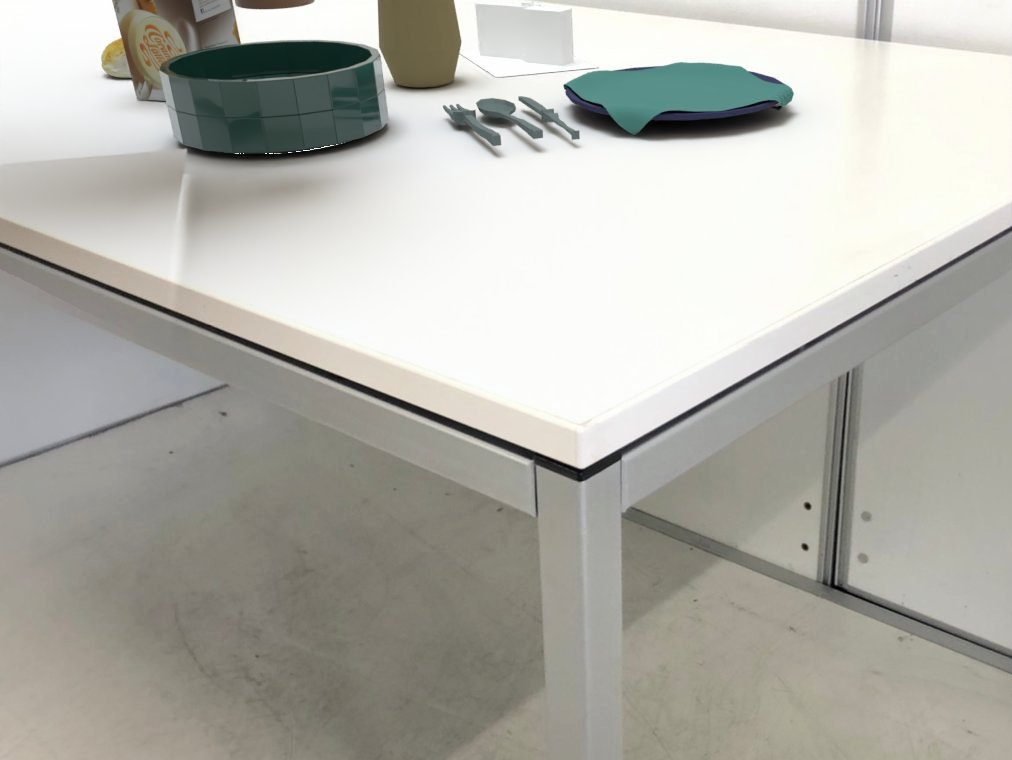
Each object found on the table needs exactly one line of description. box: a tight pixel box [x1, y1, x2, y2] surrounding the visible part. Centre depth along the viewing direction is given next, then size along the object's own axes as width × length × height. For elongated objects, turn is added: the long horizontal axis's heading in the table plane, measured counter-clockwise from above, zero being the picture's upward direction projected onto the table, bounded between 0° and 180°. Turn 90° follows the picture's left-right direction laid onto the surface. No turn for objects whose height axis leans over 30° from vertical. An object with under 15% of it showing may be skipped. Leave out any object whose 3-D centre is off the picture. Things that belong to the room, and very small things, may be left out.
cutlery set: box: [442, 61, 795, 147], centre depth 98 cm, size 20×30×2 cm, turn 113°
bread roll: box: [100, 37, 132, 79], centre depth 117 cm, size 8×9×4 cm
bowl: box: [159, 39, 390, 154], centre depth 93 cm, size 17×17×6 cm
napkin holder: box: [459, 0, 600, 78], centre depth 119 cm, size 15×11×6 cm
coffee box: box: [111, 0, 242, 102], centre depth 103 cm, size 9×6×16 cm
